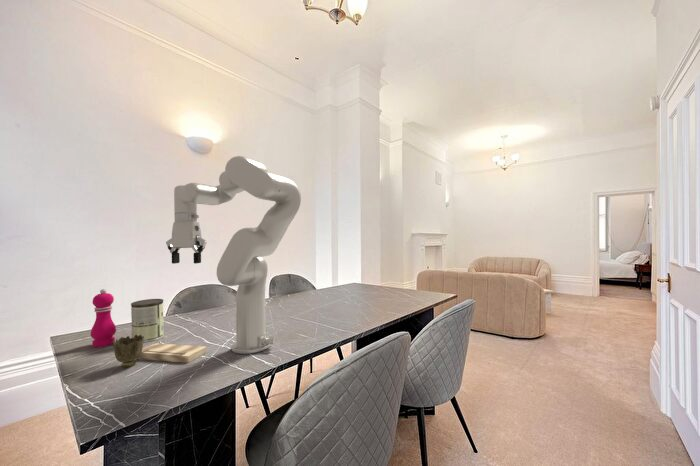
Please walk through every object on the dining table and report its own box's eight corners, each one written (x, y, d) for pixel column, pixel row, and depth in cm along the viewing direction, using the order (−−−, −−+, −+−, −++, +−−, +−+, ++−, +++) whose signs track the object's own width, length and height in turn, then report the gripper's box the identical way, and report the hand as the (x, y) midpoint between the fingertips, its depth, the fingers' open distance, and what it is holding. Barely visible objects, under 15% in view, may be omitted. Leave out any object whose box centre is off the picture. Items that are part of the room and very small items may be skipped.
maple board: (206, 352, 98) (206, 346, 98) (188, 362, 90) (188, 355, 90) (156, 349, 103) (156, 342, 103) (134, 358, 95) (134, 351, 95)
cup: (109, 373, 85) (108, 344, 85) (117, 363, 91) (117, 336, 92) (140, 368, 87) (140, 340, 88) (146, 358, 94) (146, 333, 94)
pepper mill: (85, 346, 107) (85, 290, 107) (108, 339, 114) (108, 286, 114) (98, 348, 104) (97, 291, 105) (120, 341, 111) (120, 287, 111)
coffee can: (129, 338, 114) (128, 301, 115) (160, 332, 122) (159, 297, 122) (134, 345, 107) (133, 305, 107) (167, 338, 114) (166, 301, 115)
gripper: (212, 218, 116) (212, 262, 116) (174, 219, 120) (175, 262, 120) (198, 216, 109) (198, 264, 109) (158, 218, 113) (159, 264, 113)
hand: (186, 263), depth 114 cm, fingers open, 9 cm apart
